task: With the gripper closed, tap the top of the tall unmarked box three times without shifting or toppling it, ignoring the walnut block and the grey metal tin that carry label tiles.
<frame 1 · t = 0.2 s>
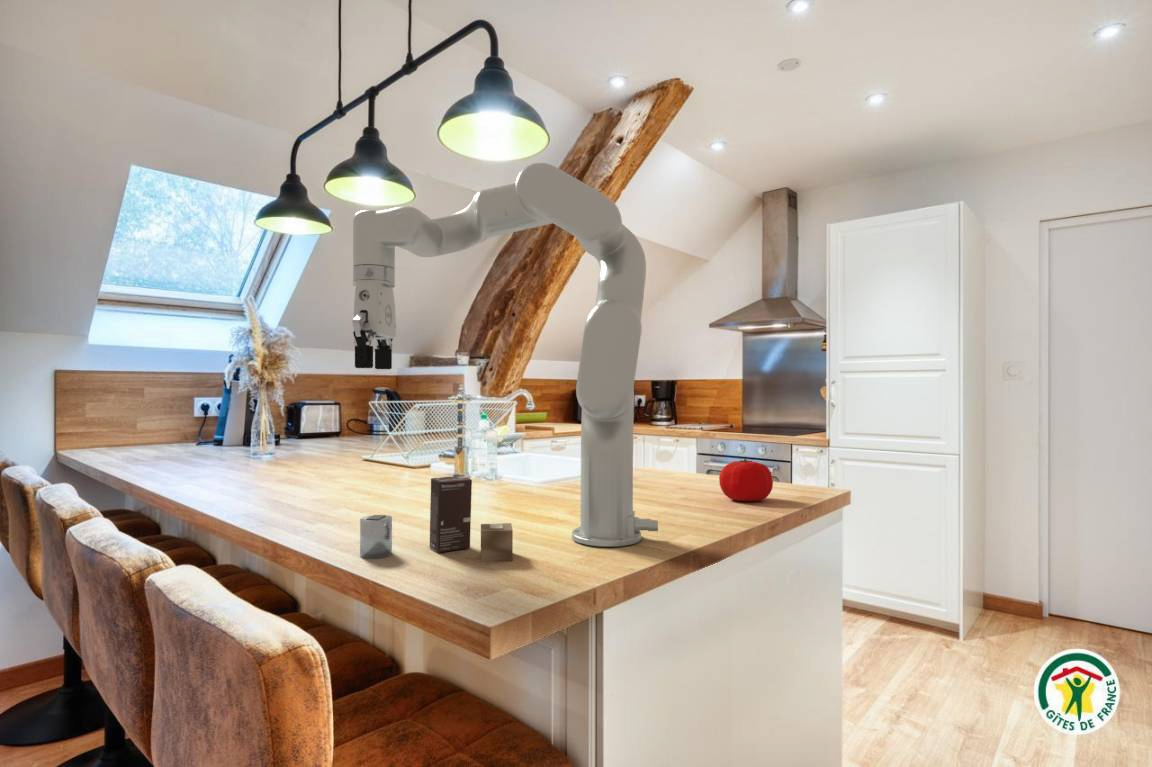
hand: (374, 368, 116), 31 cm above the worktop, fingers open, 9 cm apart
box: (450, 549, 105), on the worktop
tomato: (745, 501, 149), on the worktop
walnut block: (496, 557, 100), on the worktop
grey tin: (376, 554, 101), on the worktop
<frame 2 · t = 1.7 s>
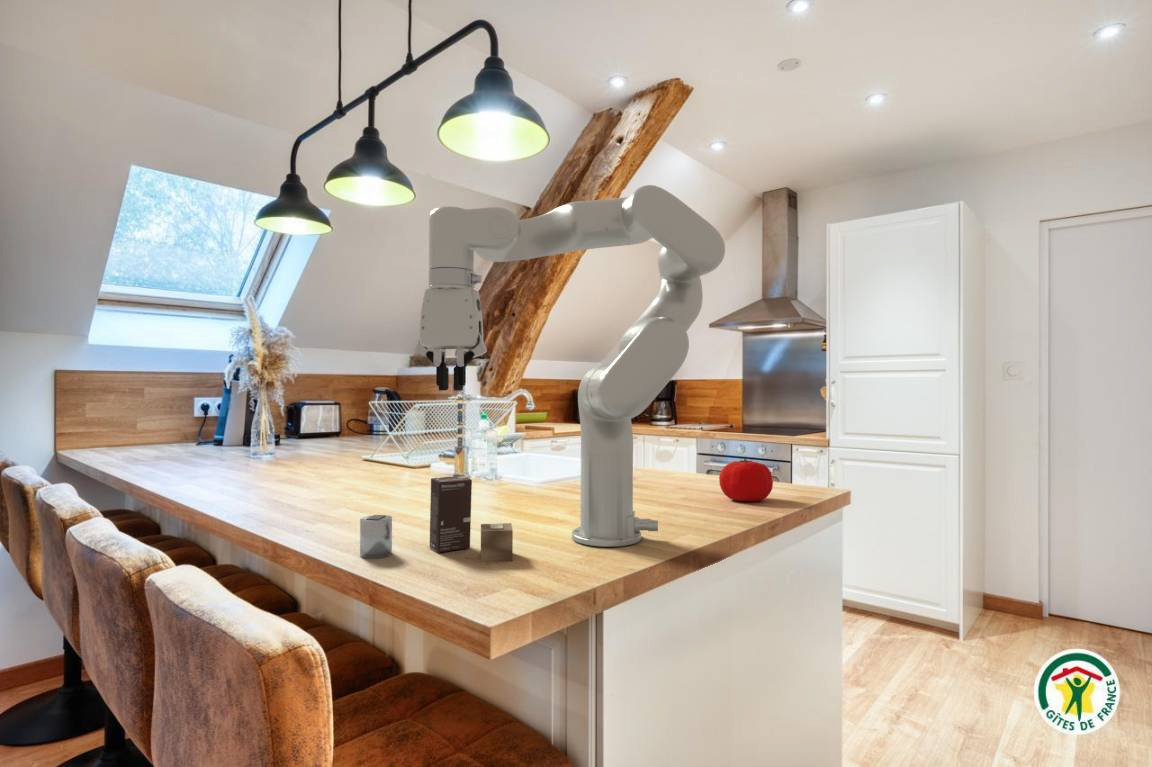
hand: (451, 389, 105), 27 cm above the worktop, fingers closed
nothing on the worktop moved.
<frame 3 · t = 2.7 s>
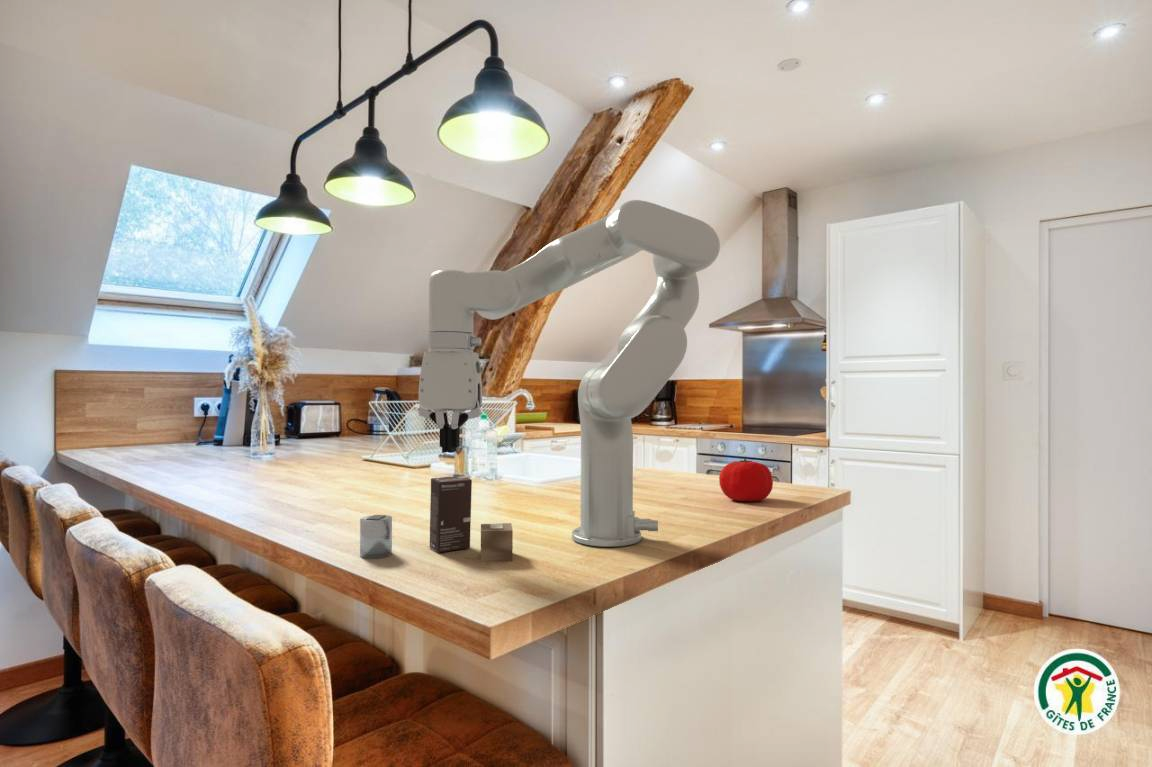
hand: (449, 451, 105), 17 cm above the worktop, fingers closed
nothing on the worktop moved.
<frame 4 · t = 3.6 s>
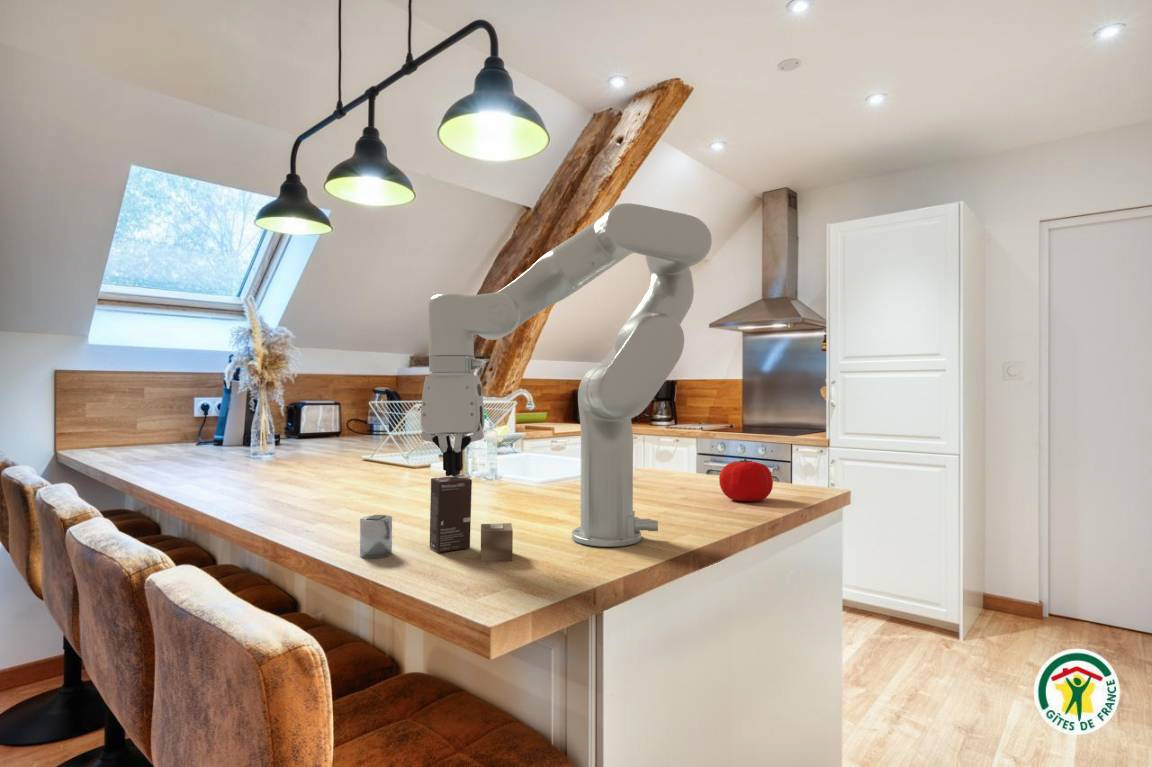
hand: (453, 474, 105), 13 cm above the worktop, fingers closed
nothing on the worktop moved.
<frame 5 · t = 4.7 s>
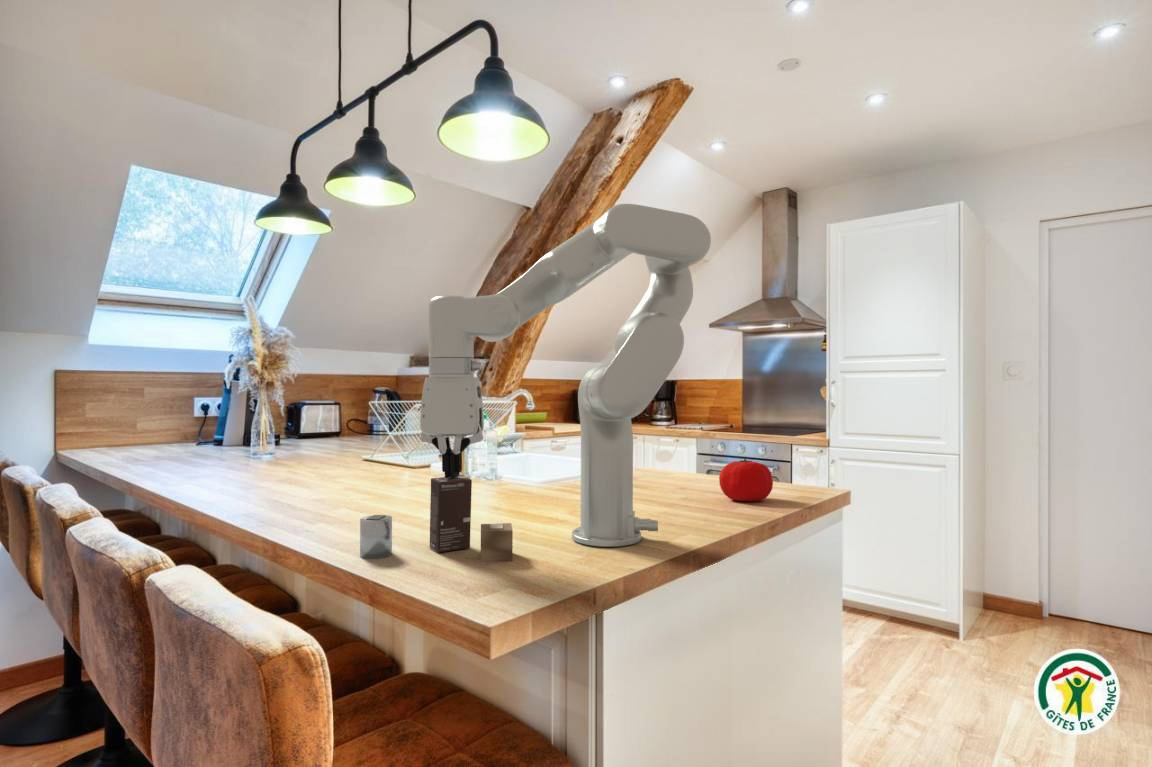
hand: (452, 476, 105), 12 cm above the worktop, fingers closed
nothing on the worktop moved.
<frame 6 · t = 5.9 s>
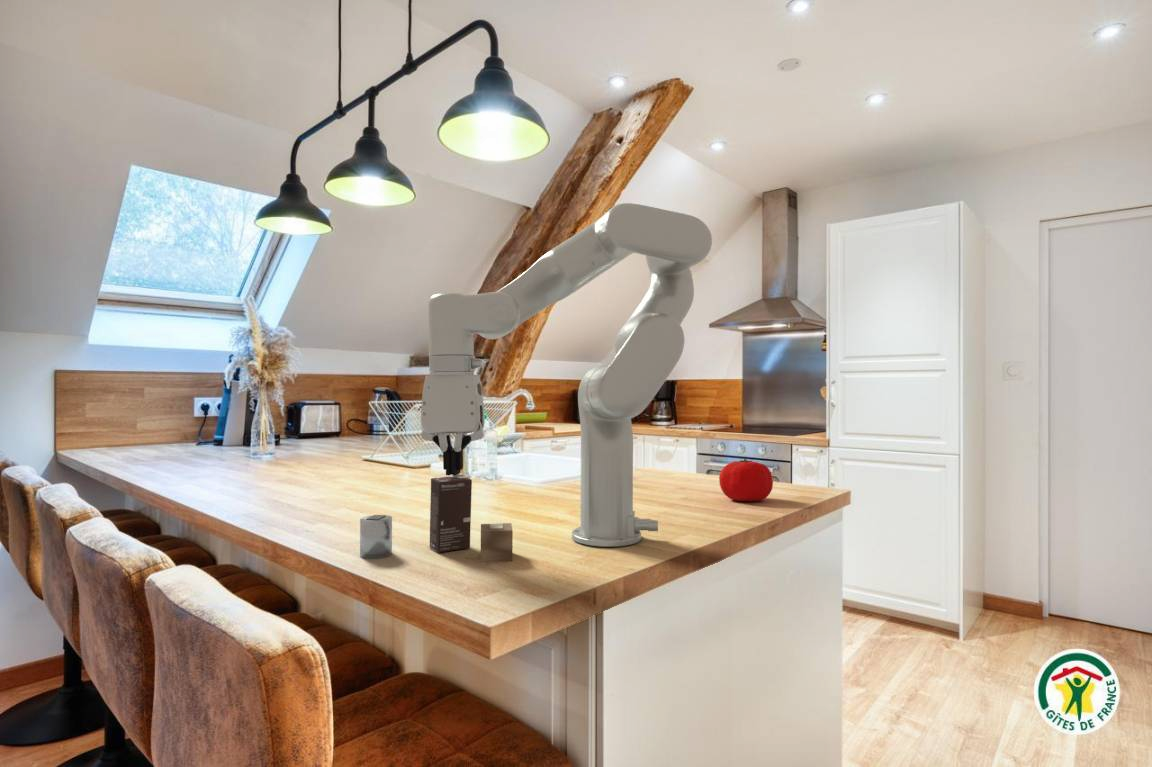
hand: (453, 473, 105), 13 cm above the worktop, fingers closed
nothing on the worktop moved.
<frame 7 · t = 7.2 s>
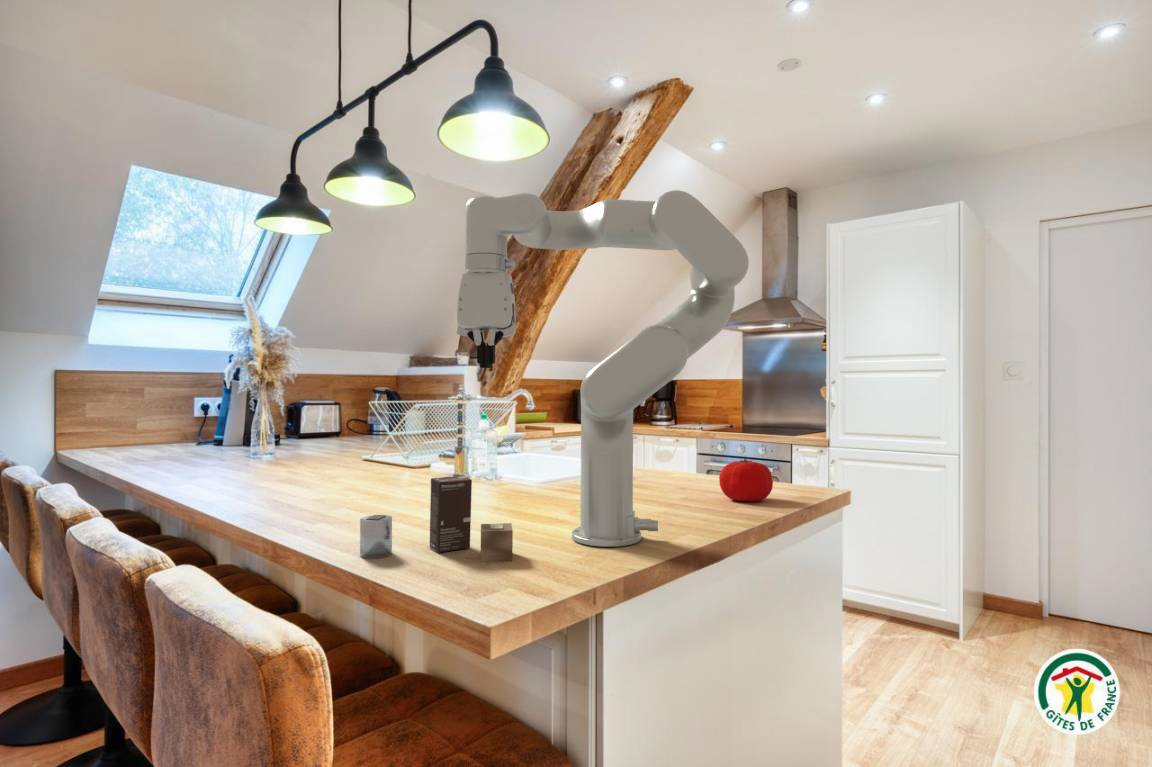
hand: (486, 367, 112), 31 cm above the worktop, fingers closed
nothing on the worktop moved.
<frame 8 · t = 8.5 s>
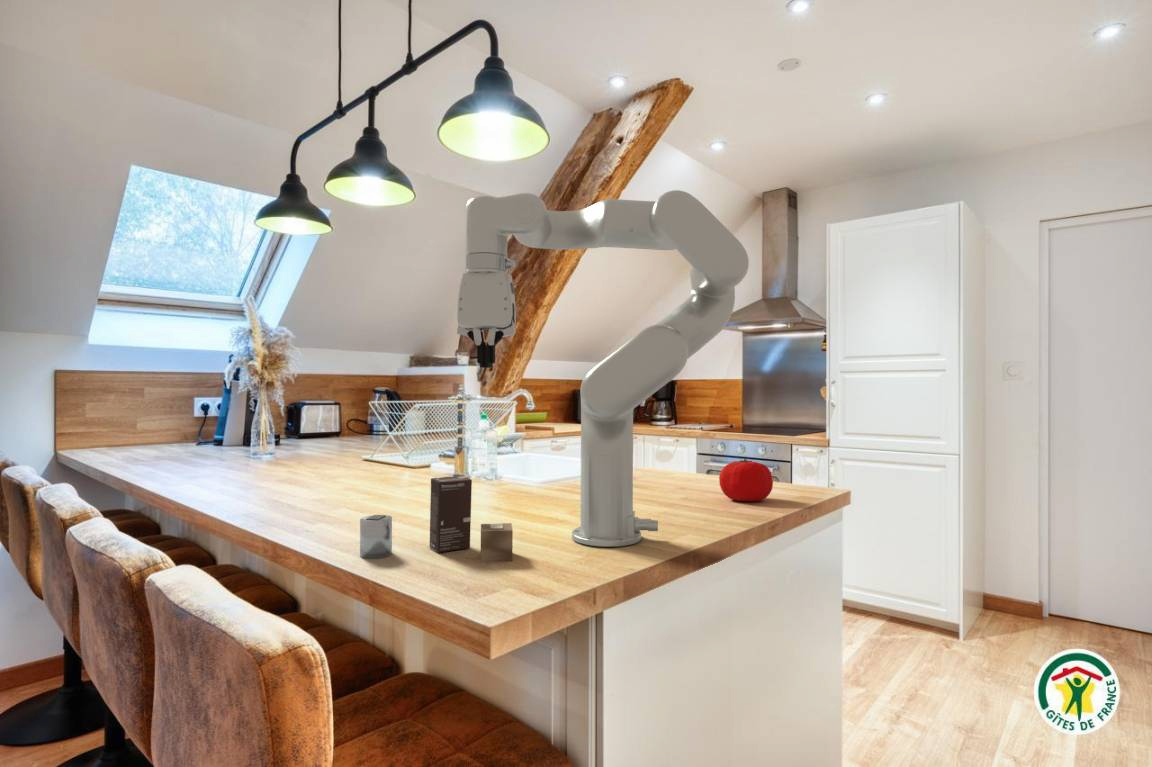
hand: (486, 367, 112), 31 cm above the worktop, fingers closed
nothing on the worktop moved.
at the end: box moved 0.2 cm from its start; box tilted 0°; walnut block moved 0.1 cm from its start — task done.
